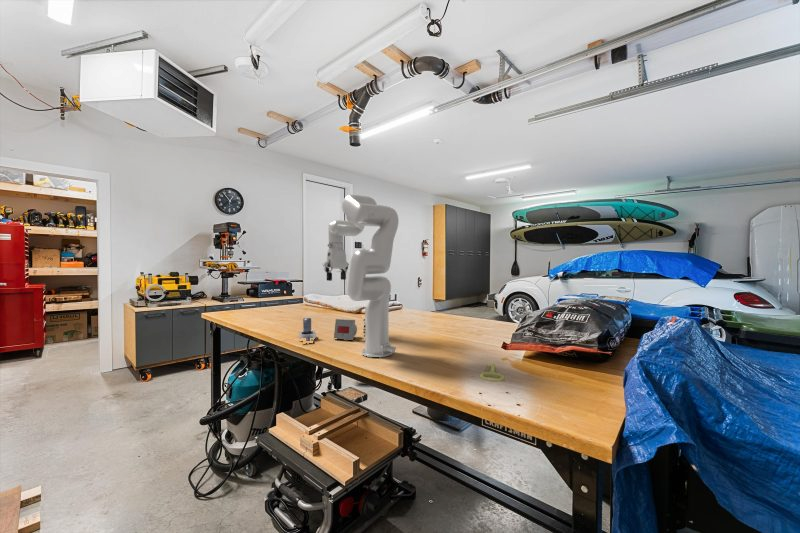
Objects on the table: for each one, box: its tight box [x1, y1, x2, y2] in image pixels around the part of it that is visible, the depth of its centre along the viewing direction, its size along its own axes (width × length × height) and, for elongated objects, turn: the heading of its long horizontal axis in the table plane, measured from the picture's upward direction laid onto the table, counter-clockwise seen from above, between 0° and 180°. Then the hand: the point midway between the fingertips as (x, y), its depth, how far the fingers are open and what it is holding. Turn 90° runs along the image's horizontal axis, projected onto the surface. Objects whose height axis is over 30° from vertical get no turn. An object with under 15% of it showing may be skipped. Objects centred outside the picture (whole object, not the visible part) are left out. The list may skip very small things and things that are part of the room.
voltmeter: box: [333, 318, 365, 341], centre depth 154 cm, size 27×11×10 cm, turn 106°
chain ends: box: [298, 330, 317, 342], centre depth 154 cm, size 24×8×3 cm, turn 18°
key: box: [479, 363, 505, 382], centre depth 103 cm, size 7×12×2 cm, turn 0°
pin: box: [302, 317, 312, 334], centre depth 153 cm, size 4×4×10 cm
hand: (336, 280), depth 160 cm, fingers open, 9 cm apart
